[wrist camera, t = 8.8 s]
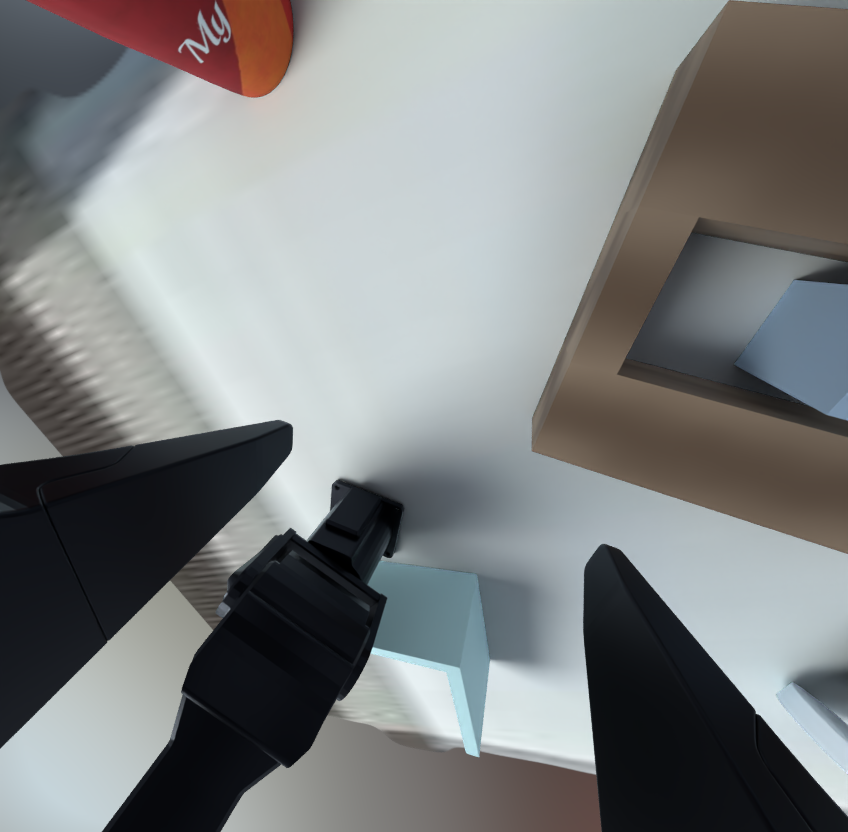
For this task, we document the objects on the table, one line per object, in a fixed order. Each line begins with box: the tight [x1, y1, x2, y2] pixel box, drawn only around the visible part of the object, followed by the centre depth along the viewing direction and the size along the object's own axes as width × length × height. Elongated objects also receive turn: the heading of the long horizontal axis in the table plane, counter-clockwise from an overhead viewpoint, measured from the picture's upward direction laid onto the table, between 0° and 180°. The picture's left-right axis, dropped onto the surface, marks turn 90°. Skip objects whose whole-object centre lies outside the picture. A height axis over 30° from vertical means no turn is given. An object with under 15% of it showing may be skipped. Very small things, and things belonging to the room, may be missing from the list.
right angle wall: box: [368, 561, 490, 757], centre depth 29 cm, size 12×12×8 cm
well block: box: [532, 0, 848, 554], centre depth 13 cm, size 16×20×4 cm
